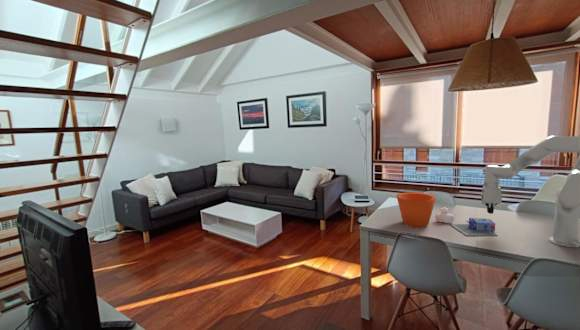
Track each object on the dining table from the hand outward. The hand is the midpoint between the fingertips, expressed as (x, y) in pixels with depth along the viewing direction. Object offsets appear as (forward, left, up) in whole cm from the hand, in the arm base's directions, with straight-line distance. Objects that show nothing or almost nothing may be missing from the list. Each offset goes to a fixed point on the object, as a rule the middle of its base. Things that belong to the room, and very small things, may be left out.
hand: (490, 213), depth 175 cm
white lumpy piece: (+17, +20, -12) cm, 29 cm away
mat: (0, +10, -11) cm, 15 cm away
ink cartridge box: (0, -2, -8) cm, 8 cm away
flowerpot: (+14, +41, -12) cm, 45 cm away
